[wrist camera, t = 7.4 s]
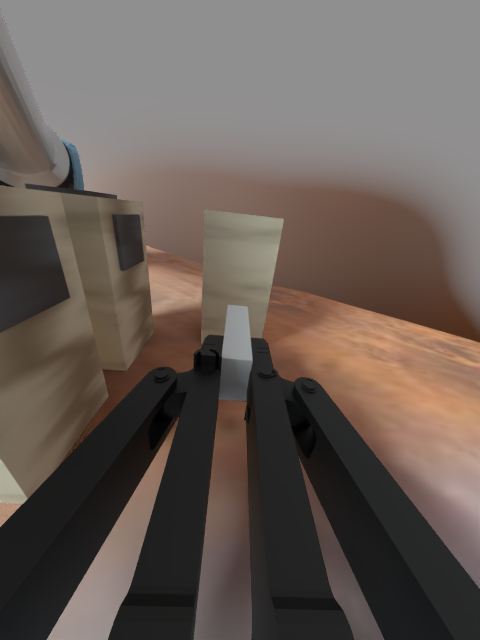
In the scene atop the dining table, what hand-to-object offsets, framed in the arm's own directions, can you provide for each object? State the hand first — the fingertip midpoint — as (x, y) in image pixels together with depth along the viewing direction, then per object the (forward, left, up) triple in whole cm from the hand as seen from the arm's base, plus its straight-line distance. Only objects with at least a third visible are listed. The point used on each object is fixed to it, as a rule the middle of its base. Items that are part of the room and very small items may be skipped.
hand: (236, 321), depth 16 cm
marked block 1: (-4, -13, -7) cm, 15 cm away
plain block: (-10, 0, -7) cm, 12 cm away
